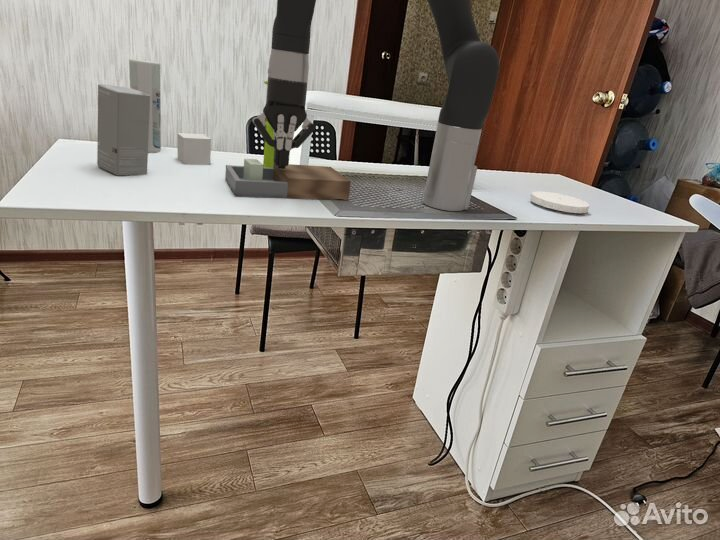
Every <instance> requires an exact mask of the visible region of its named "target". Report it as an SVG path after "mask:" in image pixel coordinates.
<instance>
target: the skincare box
mask: <svg viewBox="0 0 720 540" xmlns="http://www.w3.org/2000/svg"><path fill="white" fill-rule="evenodd" d="M149 111H150V95H148V94H145V93H143V92H141V91H138V90H134V89H132V88H130V87H128V86H127V87H126V86H119V85H110V84H103V83H101V84H97V148H96V149H97V152H96V153H97V159H96V160H97V161H96V164H97V166H98V168H100V169H103V170H105V171H107V172H109V173H111V174H114V175H115V176H140V175H142V176H143V175H147V174H148V162H149V161H148V159H149V157H148V156H149V153H148V136H149Z"/></svg>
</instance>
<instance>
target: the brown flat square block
mask: <svg viewBox="0 0 720 540" xmlns="http://www.w3.org/2000/svg"><path fill="white" fill-rule="evenodd" d="M273 168H274V181H278V182H287V183H288V190H287V198H286V199H297V200H298V199H299V200H300V199H301V200H322V201H323V200H325V201H326V199H344V200H343V201H349V200H350V199H349V198H350V193H351V192H350V191H351V185H352V184H351V180H349V179H348V178H347V177H345V176H344V175H342V174H341V173H340V172H339V171H338V170H336V169H335V168H333V167H332V166H323V165H321V166H320V165H310V164H309V165H307V164H291V163H289V164H288V166H286V167H285V169H280V168H277V167H276V165H275V164H274V165H273Z"/></svg>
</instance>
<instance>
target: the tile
mask: <svg viewBox="0 0 720 540" xmlns="http://www.w3.org/2000/svg"><path fill="white" fill-rule="evenodd" d="M243 161H244V162H243V166H244V174H243V180H257V181H262V176H263V163H262V162H261V161H259V160H258V159H257V158H244V159H243Z"/></svg>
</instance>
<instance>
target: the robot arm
mask: <svg viewBox="0 0 720 540" xmlns="http://www.w3.org/2000/svg"><path fill="white" fill-rule="evenodd" d="M316 3H317V0H276V15H275V18H274V20H273V26H272V31H271V32H272V33H271V34H272V36H271V48H270V56H269V59H268V69H267V81H268V84H266V85H267V87H266V88H267V89H266V100H265V101H266V103H265V105H264V107H263V109H262V113H260V114H259V115H257V116H253V117H252V118H251V121H252V124H253V125H254V126H255V128H256V129H257V131H258V132H259V134H260V135H261V137H262V138H263V140H264V143H265V142H266V143H267V144H268V145H270V146H272V147H274V164H275V165H276V167H277V168H280V169H285V167H286V166H288V164H290V156H291V155H290V153H291V150H292V149H299V148H300V147H301V146H302V144H304V143H305V141H306V140H307V139H308V138H309V137H310V136H311V134H312V133H313V132H314V131H315V130H316V128H317V126H316V124H314V123H312V122H311V121H310V120H309V118H307V117H308V115H307V114H308V113H307V112H306V102H307V90H308V80H309V69H310V65H309V64H310V63H309V58H310V57H309V55H310V45H311V35H312V34H311V31H312V29H311V28H312V22H313V17H314V13H315V7H316ZM427 3H428V6H429V9H430V11H431V14H432V17H433V20H434V22H435V25H436V29H437V32H438V38H439V43H440V48H441V52H442V58H443V66H444V69H445V74H446V77H447V79H448V81H449V82H448V87H447V93H446V96H445V97H446V98H445V101H444V103H443V105H442V107H441V108H440V111H439V115H438V119H437V126H436V129H435V136H434V140H433V141H434V142H433V146H432V152H431V157H430V161H429V167H428V171H427V178H426V181H425V182H426V183H425V186H424V187H425V188H424V192H423V198H422V203H423V204H425V205H426V206H429V207H430V208H435V209H436V210H437V209H438V210H442V211H448V212H461V211H464V210H468V209H469V207H470V203H471V202H470V201H471V197H472V195H473V194H472V193H473V189H474V184H475V181H476V175H477V172H478V166H477V165H475V161H476V158H477V154H478V153H477V152H478V149H479V144H480V140H481V139H480V138H481V136H482V135H481V134H482V131H483V127H484V123H485V120H486V119H487V117H488V114H489V112H490V109H491V105H492V102H493V100H494V99H493V98H494V95H495V90H496V86H497V83H498V78H499V73H500V57H499V54H498V53H497V51H496V49H495V48H494V47H493V45H491V44H490V43H488V42H485V41H481V38H480V36H479V32H478V29H477V26H476V23H475V21H474V16H473V13H472V12H473V11H472V4H471V3H472V2H471V0H427ZM266 119H267V121H268V122H269V124H270V126H271V127H272V129H274V140H273V139H272V138H271V136H270V135H269V133H268V132H267V130H266ZM300 127H301V130H300V131H299V132H298V133H297V134H296V136H295V137H294V135H295V132H296V131H298V129H299V128H300ZM283 136H284V137H283Z"/></svg>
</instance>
